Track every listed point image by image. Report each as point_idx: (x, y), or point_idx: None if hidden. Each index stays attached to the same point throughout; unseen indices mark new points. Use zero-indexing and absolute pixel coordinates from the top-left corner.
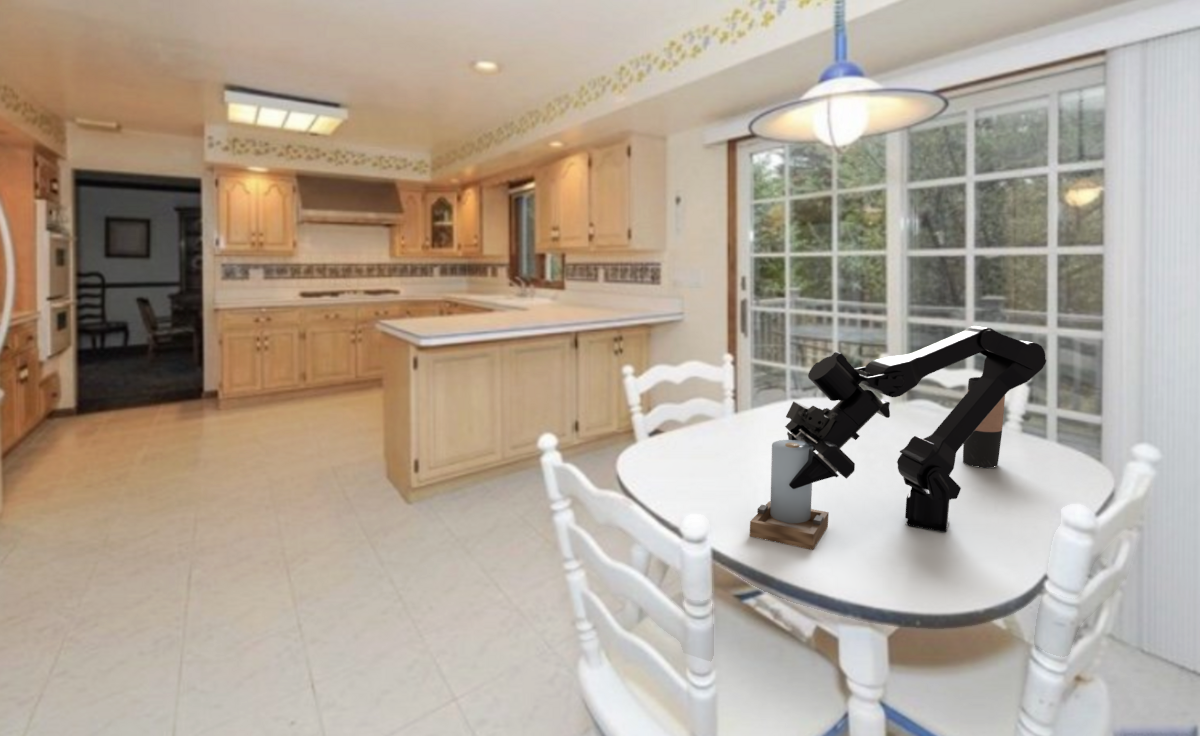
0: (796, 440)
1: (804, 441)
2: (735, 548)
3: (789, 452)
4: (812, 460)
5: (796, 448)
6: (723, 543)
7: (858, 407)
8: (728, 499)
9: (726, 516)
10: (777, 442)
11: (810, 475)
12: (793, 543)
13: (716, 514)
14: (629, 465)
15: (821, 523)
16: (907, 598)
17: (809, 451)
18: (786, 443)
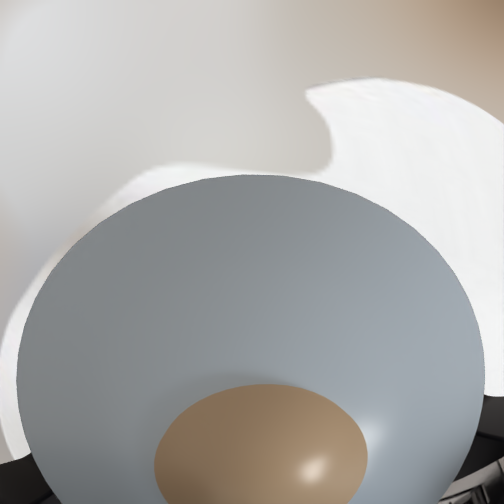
0: (442, 490)
1: (458, 501)
2: (151, 193)
3: (27, 347)
4: (10, 462)
5: (134, 481)
6: (176, 172)
7: None
8: (418, 223)
9: None
10: (419, 283)
11: None
12: None
13: (336, 179)
14: (480, 110)
15: None
16: (16, 424)
17: (18, 499)
18: (335, 411)
